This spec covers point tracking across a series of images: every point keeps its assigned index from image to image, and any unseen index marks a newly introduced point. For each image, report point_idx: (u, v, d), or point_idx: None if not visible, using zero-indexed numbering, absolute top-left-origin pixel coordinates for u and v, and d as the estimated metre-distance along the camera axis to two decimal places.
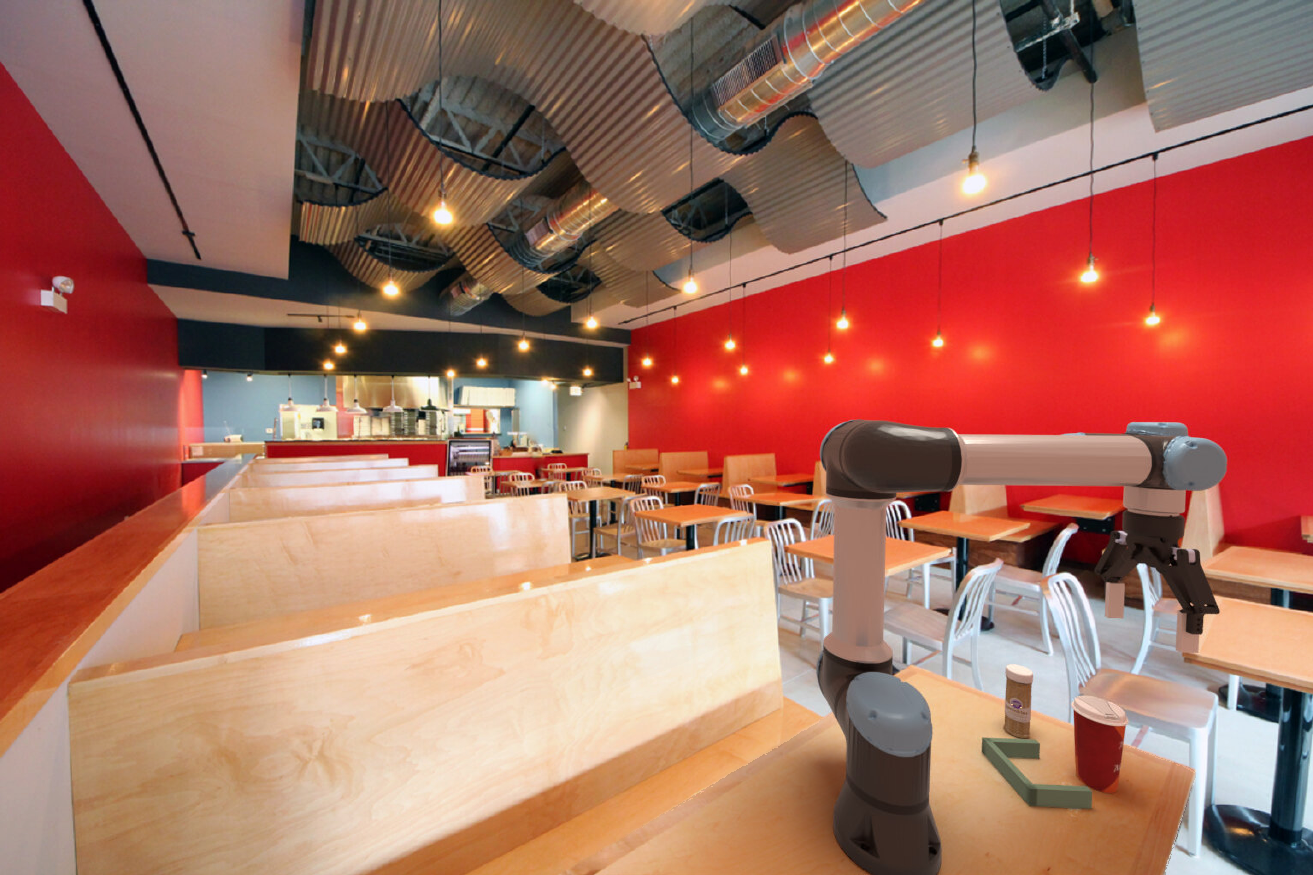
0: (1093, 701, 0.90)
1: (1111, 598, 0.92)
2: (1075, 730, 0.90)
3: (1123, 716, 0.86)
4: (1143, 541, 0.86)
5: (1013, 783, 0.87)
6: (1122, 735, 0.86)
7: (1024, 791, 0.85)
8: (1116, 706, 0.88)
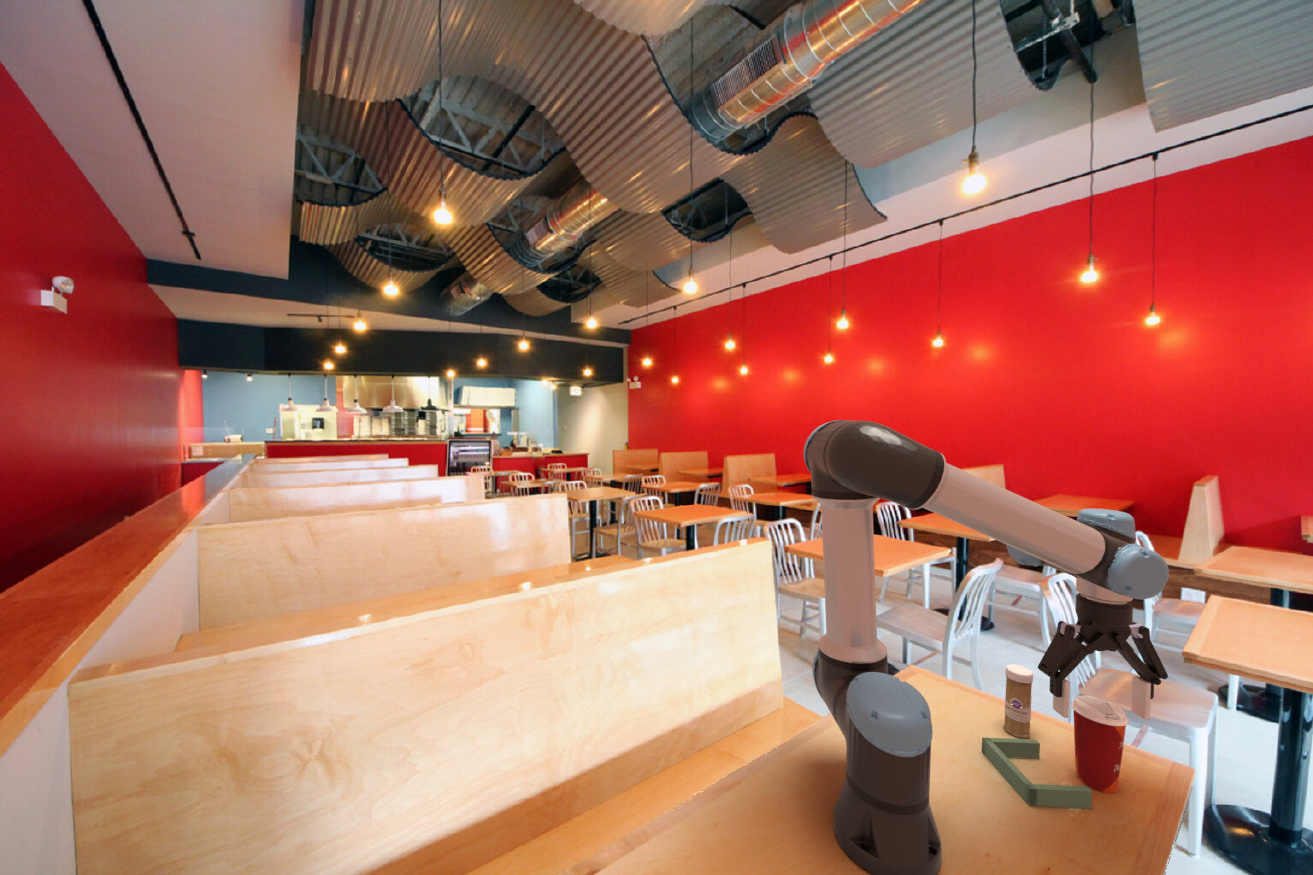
0: (1093, 701, 0.90)
1: (1134, 692, 0.89)
2: (1075, 730, 0.90)
3: (1123, 716, 0.86)
4: None
5: (1013, 783, 0.87)
6: (1122, 735, 0.86)
7: (1024, 791, 0.85)
8: (1116, 706, 0.88)
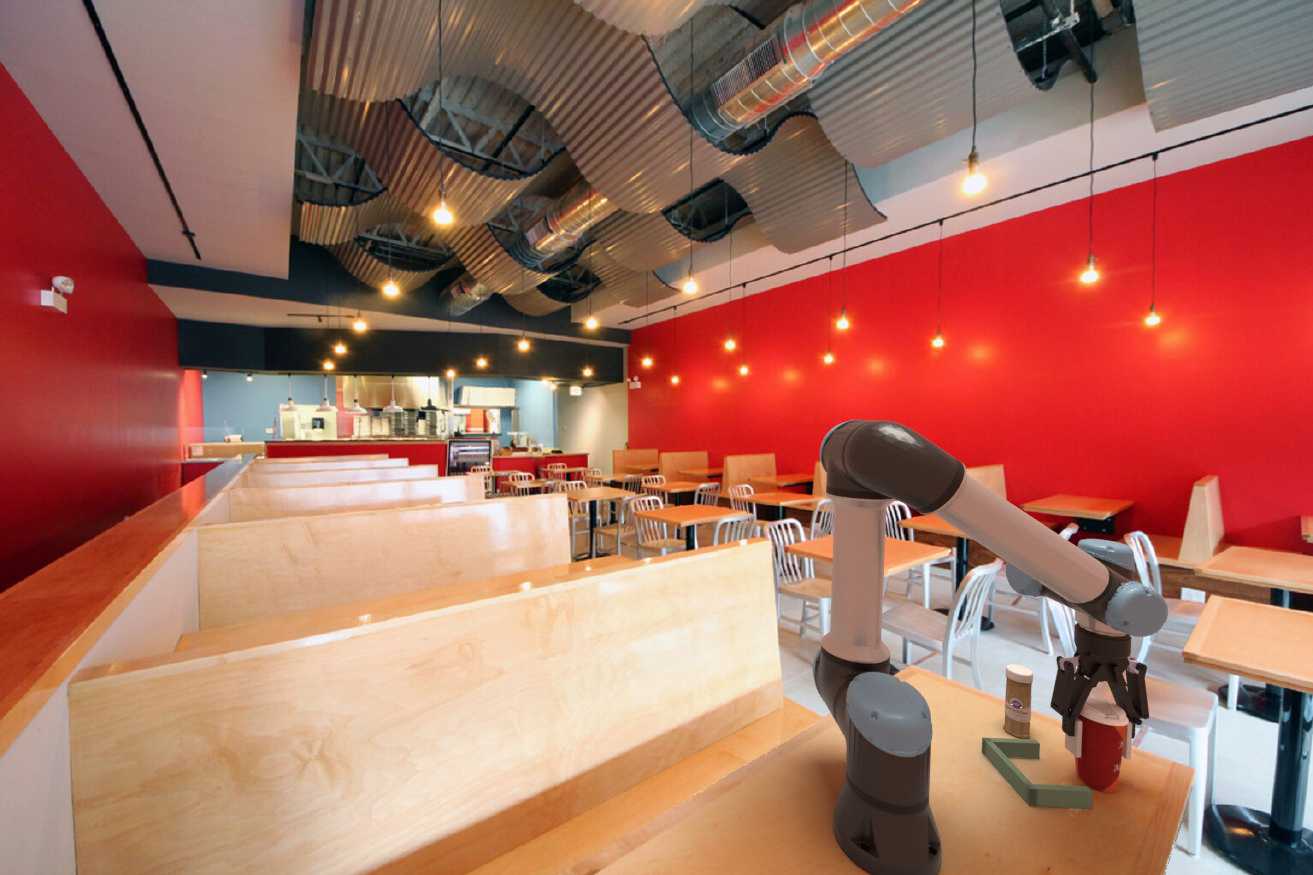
0: (1093, 701, 0.90)
1: None
2: None
3: (1123, 716, 0.86)
4: None
5: (1013, 783, 0.87)
6: (1122, 735, 0.86)
7: (1024, 791, 0.85)
8: (1116, 706, 0.88)
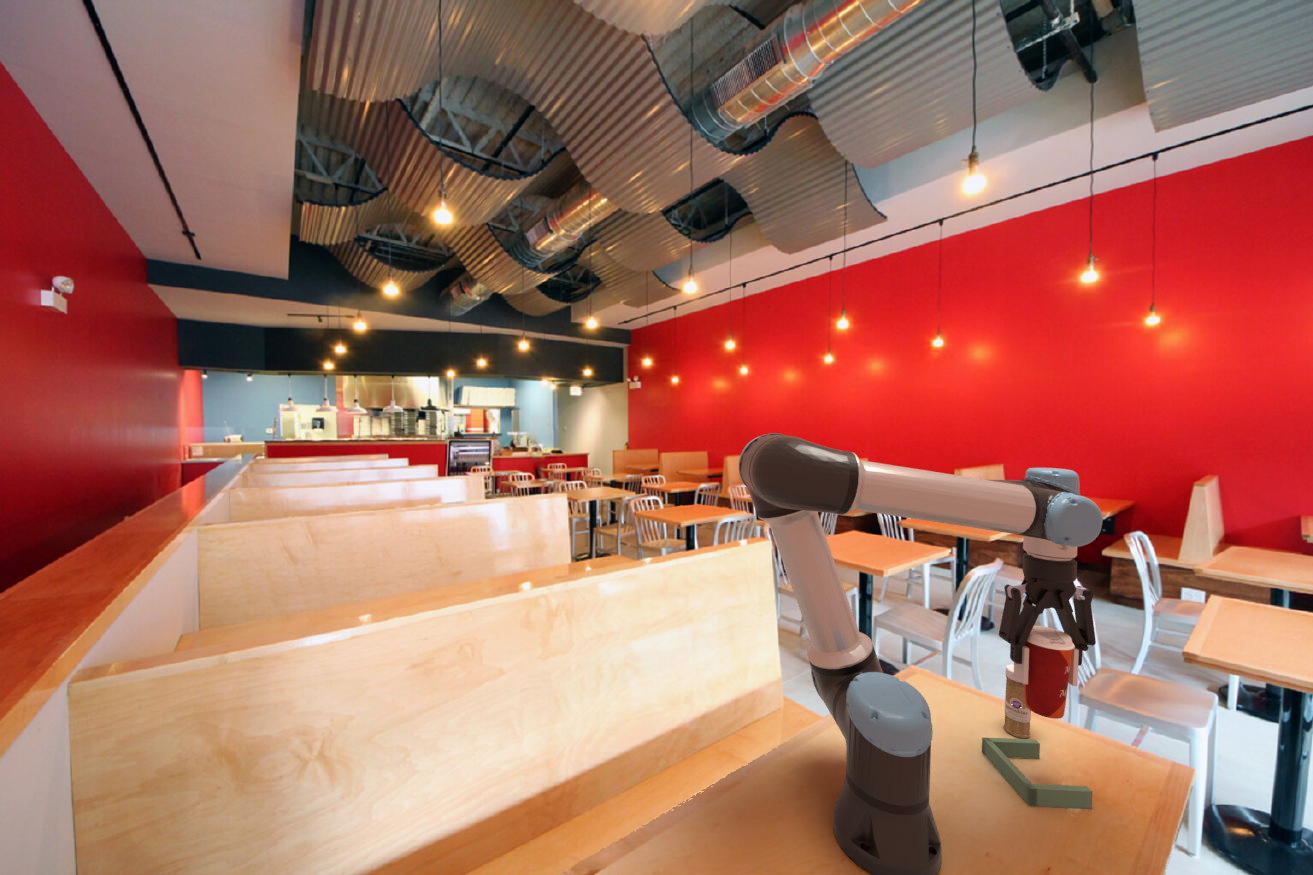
0: (1042, 629, 0.90)
1: None
2: None
3: (1069, 641, 0.86)
4: None
5: (1013, 783, 0.87)
6: (1068, 660, 0.86)
7: (1024, 791, 0.85)
8: (1063, 633, 0.88)
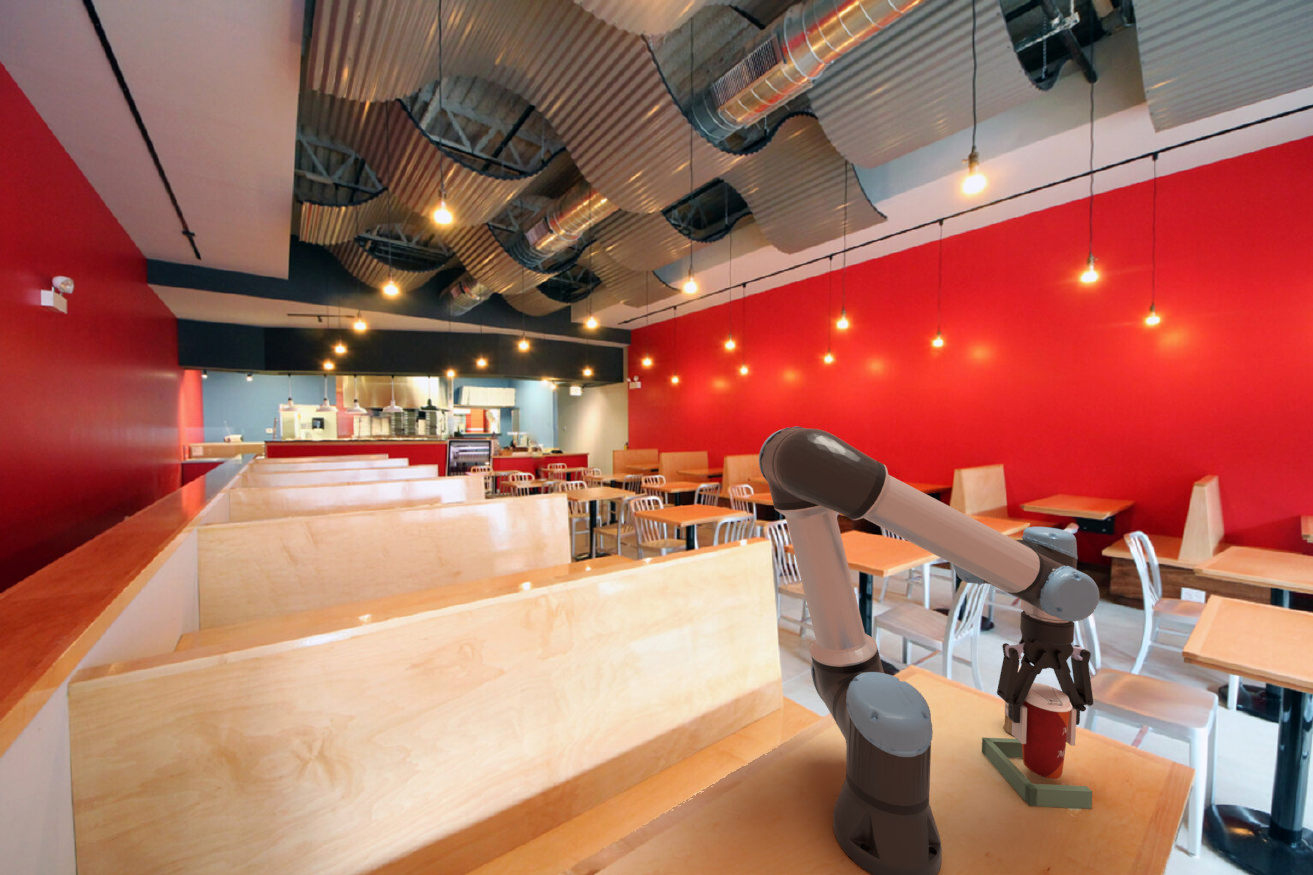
0: (1039, 688, 0.90)
1: None
2: None
3: (1066, 702, 0.86)
4: None
5: (1013, 783, 0.87)
6: (1065, 721, 0.86)
7: (1024, 791, 0.85)
8: (1061, 693, 0.89)
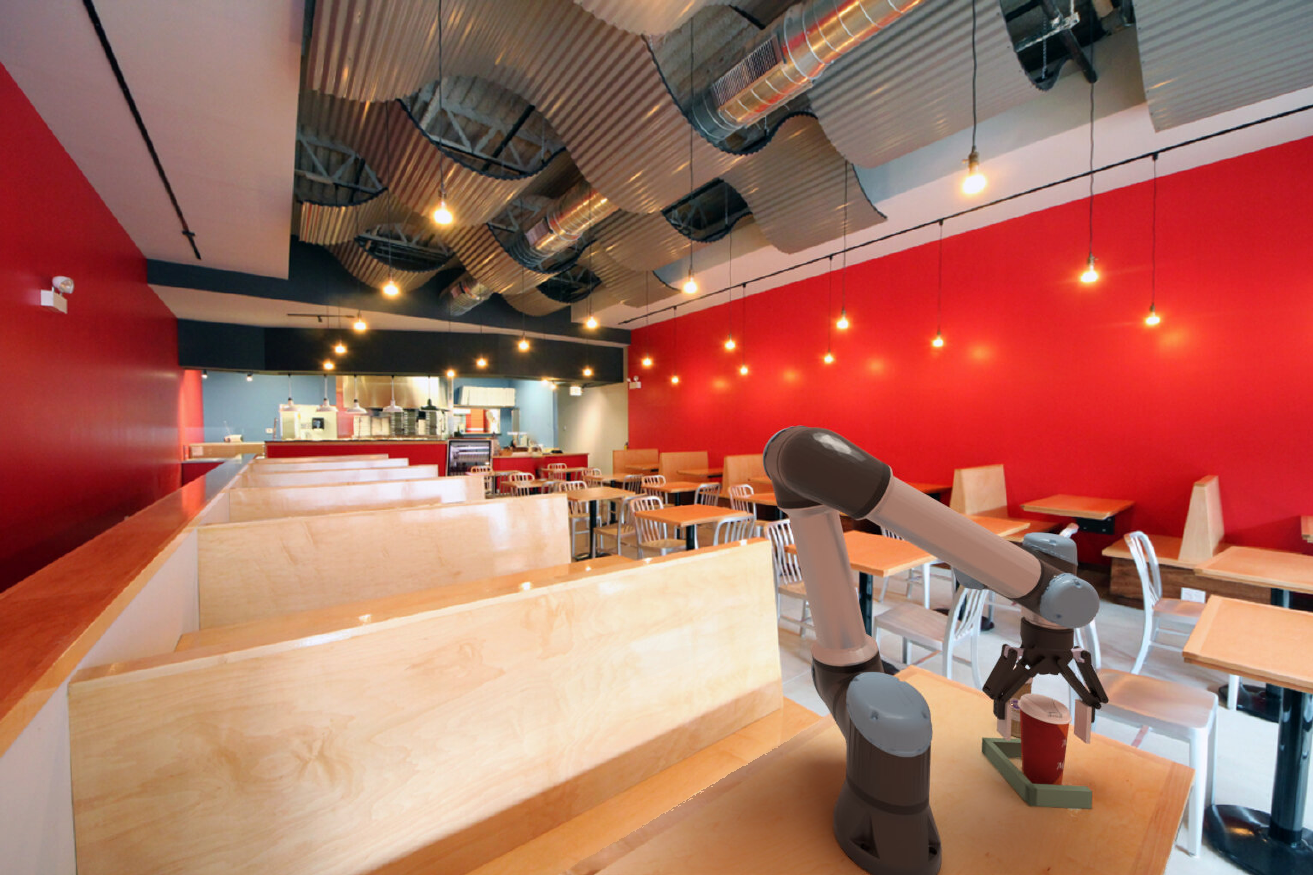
0: (1039, 699, 0.90)
1: (1076, 715, 0.90)
2: (1021, 728, 0.90)
3: (1066, 714, 0.86)
4: None
5: (1013, 783, 0.87)
6: (1065, 733, 0.86)
7: (1024, 791, 0.85)
8: (1061, 704, 0.89)
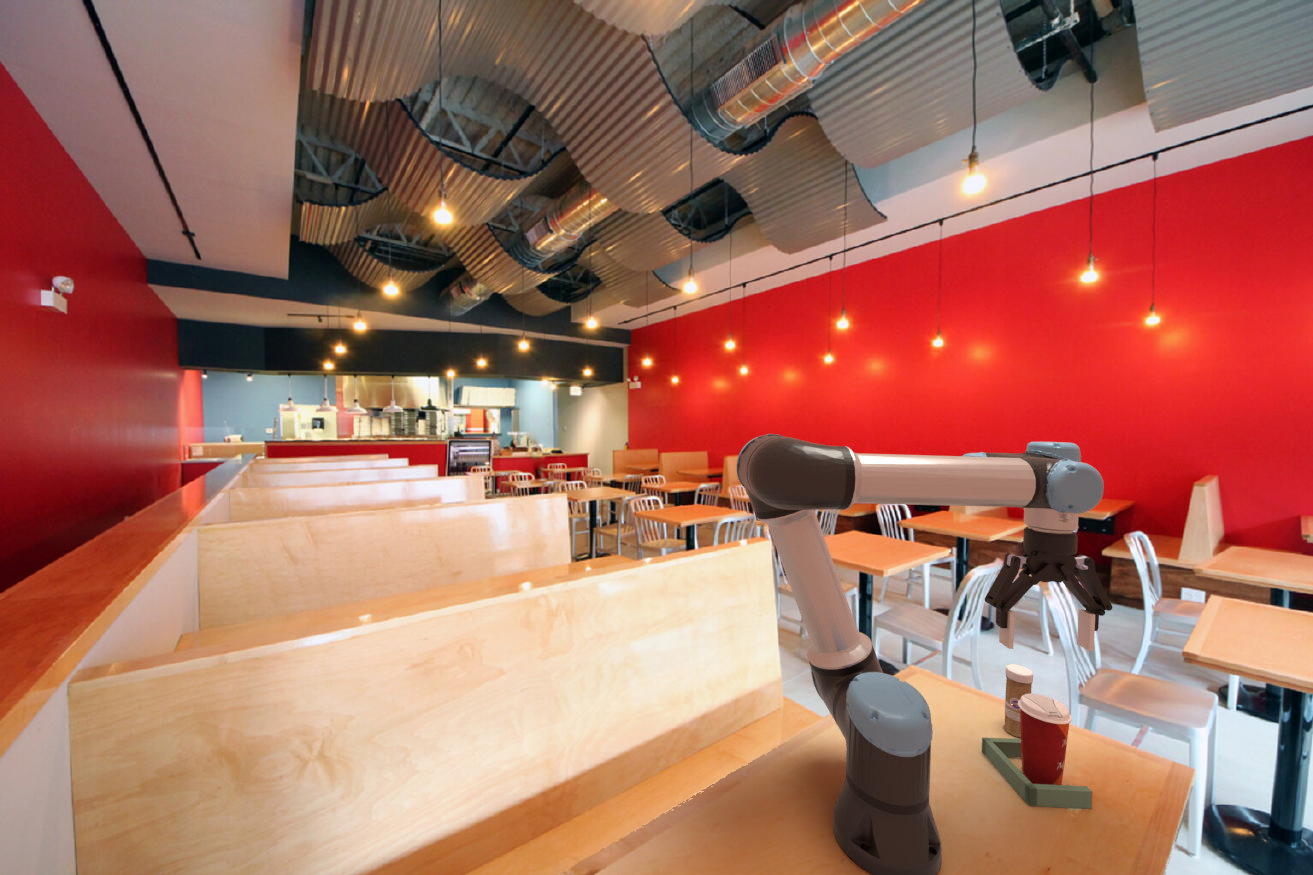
0: (1039, 699, 0.90)
1: (1080, 625, 0.89)
2: (1021, 728, 0.90)
3: (1066, 714, 0.86)
4: None
5: (1013, 783, 0.87)
6: (1065, 733, 0.86)
7: (1024, 791, 0.85)
8: (1061, 704, 0.89)
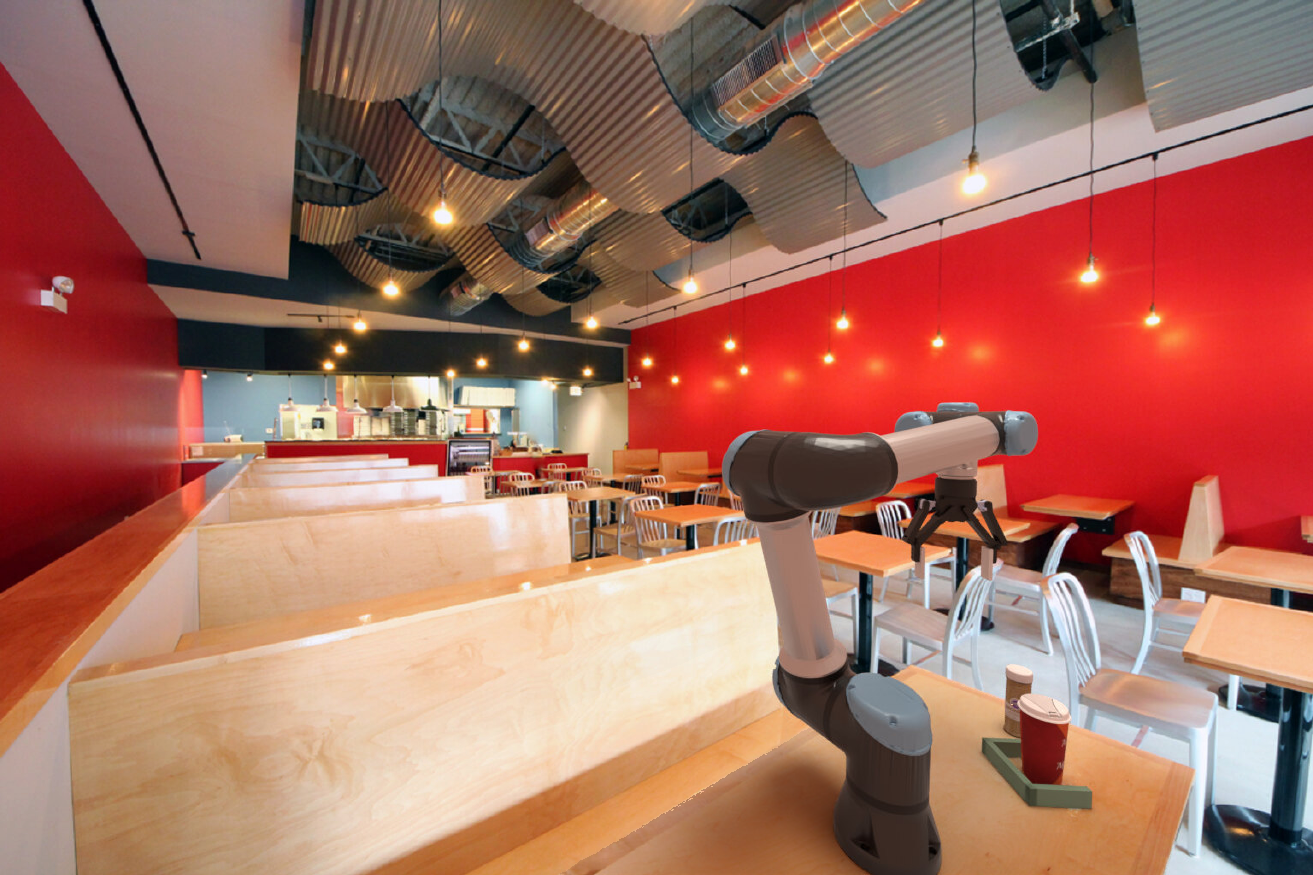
0: (1039, 699, 0.90)
1: (982, 559, 1.04)
2: (1021, 728, 0.90)
3: (1066, 714, 0.86)
4: None
5: (1013, 783, 0.87)
6: (1065, 733, 0.86)
7: (1024, 791, 0.85)
8: (1060, 704, 0.89)
